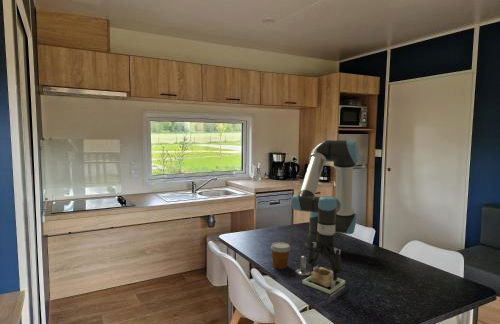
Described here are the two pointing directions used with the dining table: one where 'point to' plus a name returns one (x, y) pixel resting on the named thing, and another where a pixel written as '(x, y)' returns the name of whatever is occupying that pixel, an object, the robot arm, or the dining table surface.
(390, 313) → the dining table surface
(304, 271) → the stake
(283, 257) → the disposable coffee cup
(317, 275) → the wooden square frame
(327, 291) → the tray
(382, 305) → the dining table surface
